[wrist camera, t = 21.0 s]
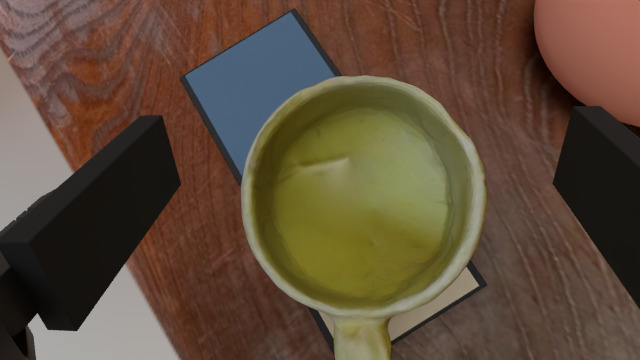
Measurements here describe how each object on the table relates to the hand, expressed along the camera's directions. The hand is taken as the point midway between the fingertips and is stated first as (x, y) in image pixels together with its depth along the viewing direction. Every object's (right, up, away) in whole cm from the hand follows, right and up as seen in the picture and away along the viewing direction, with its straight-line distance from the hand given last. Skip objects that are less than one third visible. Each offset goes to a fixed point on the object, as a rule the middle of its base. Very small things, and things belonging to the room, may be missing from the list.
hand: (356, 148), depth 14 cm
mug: (+1, -5, +9) cm, 10 cm away
